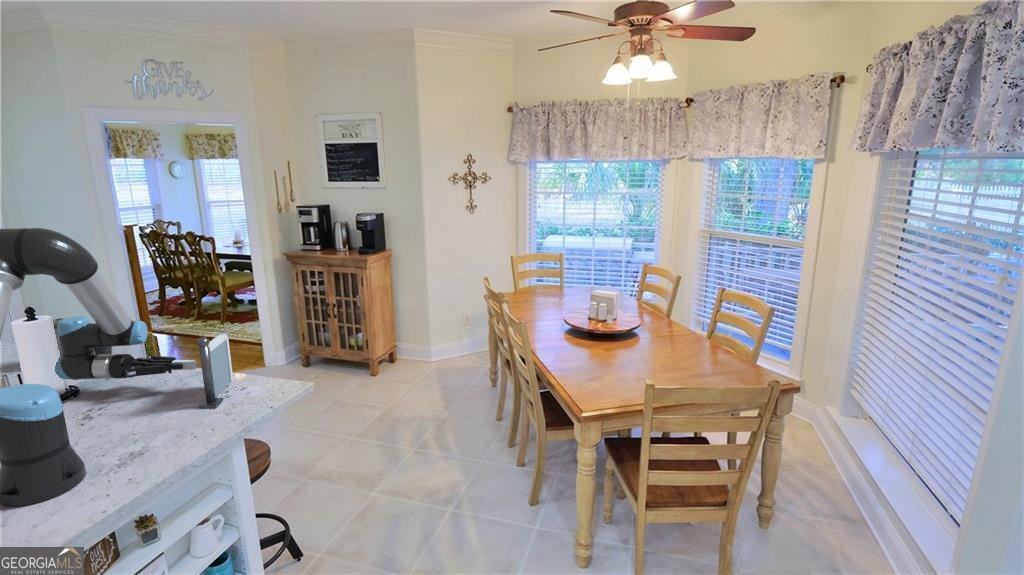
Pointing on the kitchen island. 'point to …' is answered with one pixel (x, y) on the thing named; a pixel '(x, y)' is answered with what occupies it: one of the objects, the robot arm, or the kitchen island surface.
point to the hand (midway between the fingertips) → (195, 364)
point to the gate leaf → (220, 362)
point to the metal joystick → (207, 376)
